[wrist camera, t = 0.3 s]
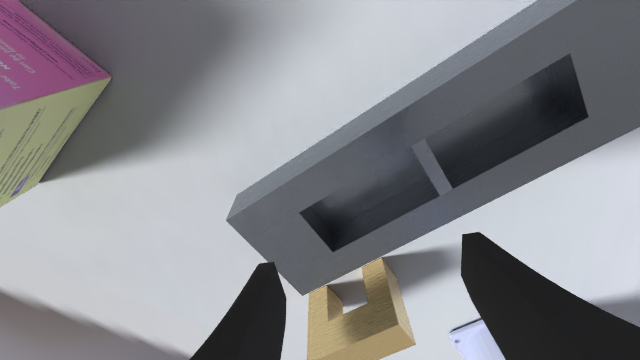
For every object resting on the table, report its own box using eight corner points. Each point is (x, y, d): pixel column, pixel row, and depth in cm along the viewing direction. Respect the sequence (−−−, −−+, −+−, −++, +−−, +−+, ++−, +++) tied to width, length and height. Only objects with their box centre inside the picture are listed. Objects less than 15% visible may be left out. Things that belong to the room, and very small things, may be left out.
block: (628, 93, 19) (679, 106, 16) (303, 266, 25) (302, 295, 23) (599, -40, 16) (656, -50, 13) (236, 195, 22) (225, 220, 19)
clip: (395, 276, 26) (415, 344, 21) (324, 309, 28) (326, 380, 22) (381, 257, 25) (398, 324, 20) (308, 293, 27) (307, 363, 21)
